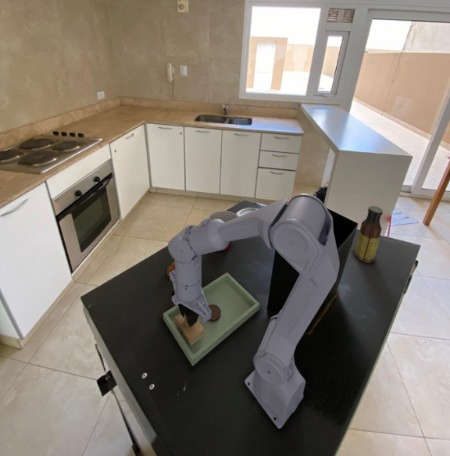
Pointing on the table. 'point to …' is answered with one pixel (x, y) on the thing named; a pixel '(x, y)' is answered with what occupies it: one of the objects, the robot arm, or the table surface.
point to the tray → (229, 320)
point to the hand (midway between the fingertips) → (189, 318)
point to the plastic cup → (223, 219)
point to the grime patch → (214, 312)
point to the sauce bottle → (369, 235)
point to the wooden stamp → (189, 329)
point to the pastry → (171, 268)
